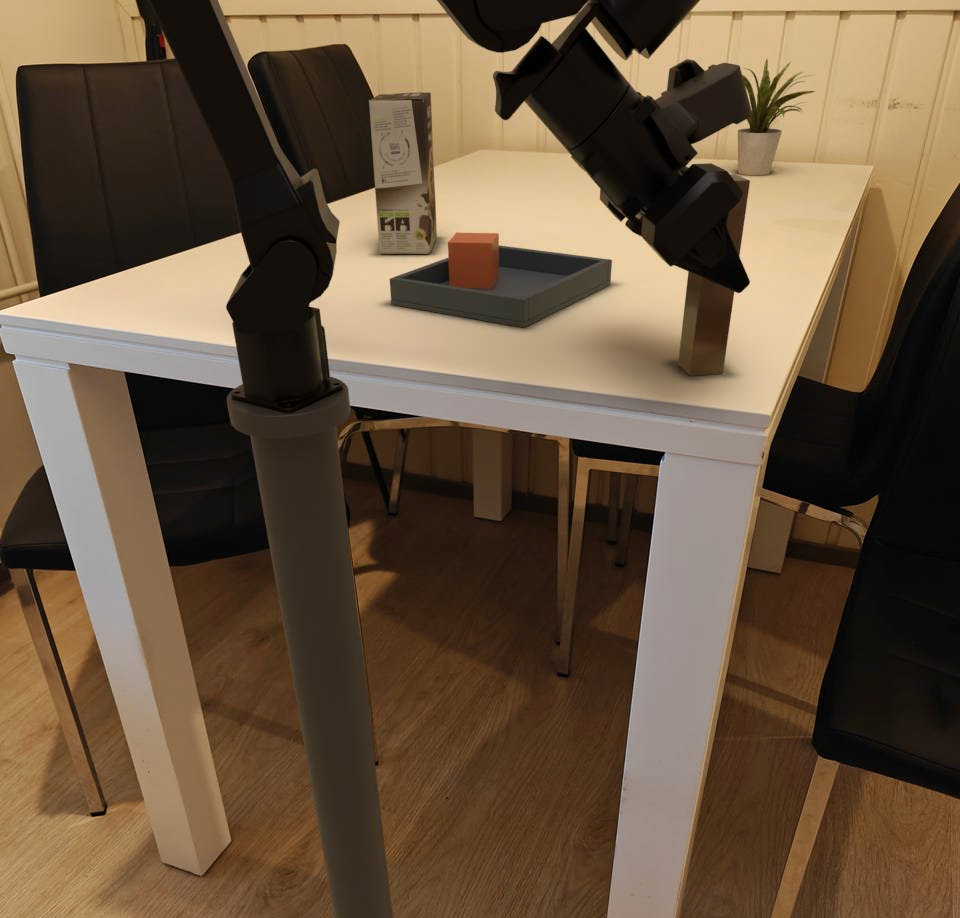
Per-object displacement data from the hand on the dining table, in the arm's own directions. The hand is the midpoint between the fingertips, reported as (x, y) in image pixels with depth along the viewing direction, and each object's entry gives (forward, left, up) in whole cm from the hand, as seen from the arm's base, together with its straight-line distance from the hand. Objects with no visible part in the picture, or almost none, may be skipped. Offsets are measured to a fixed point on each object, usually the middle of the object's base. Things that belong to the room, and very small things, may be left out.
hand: (730, 276), depth 70 cm
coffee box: (+23, +49, -7) cm, 55 cm away
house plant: (+94, +31, -7) cm, 99 cm away
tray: (+10, +27, -7) cm, 30 cm away
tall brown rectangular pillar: (-1, +1, -7) cm, 7 cm away
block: (+11, +31, -7) cm, 33 cm away
